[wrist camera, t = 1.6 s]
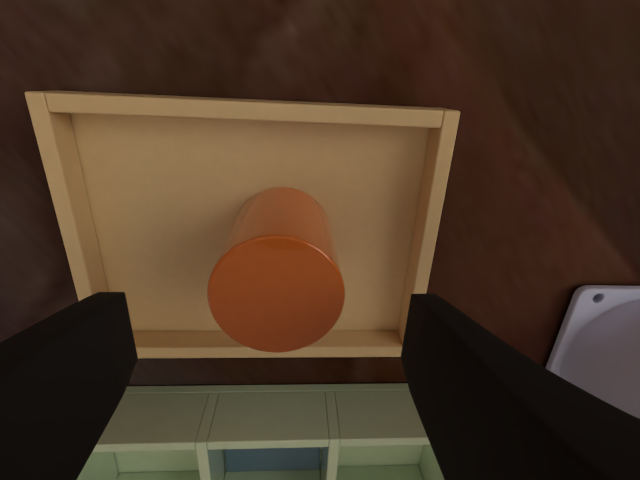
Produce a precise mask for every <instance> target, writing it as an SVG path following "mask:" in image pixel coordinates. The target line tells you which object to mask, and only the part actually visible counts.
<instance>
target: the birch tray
mask: <svg viewBox="0 0 640 480" xmlns="http://www.w3.org/2000/svg"><path fill="white" fill-rule="evenodd" d="M25 97H26V101H27V105H28V108H29V112H30V116H31V120H32V124H33V128H34V131H35V135H36V139H37V143H38V147H39V151H40V154H41V158H42V162H43V166H44V170H45V174H46V177H47V181H48V185H49V189H50V193H51V197H52V200H53V204H54V208H55V212H56V216H57V220H58V223H59V227H60V231H61V235H62V239H63V243H64V246H65V250H66V254H67V258H68V262H69V266H70V270H71V273H72V277H73V281H74V285H75V289H76V293H77V296H78V300H79V301H80V300H82V299H84V298H86V297H88V296H91V295H93V294H95V293H98V292H125V296H126V301H127V306H128V311H129V316H130V321H131V326H132V331H133V336H134V341H135V346H136V351H137V356H138V358H270V357H401V351H402V345H403V339H404V334H405V328H406V322H407V316H408V310H409V304H410V298H411V294H426V292H427V287H428V281H429V276H430V271H431V266H432V260H433V255H434V250H435V244H436V239H437V234H438V228H439V223H440V218H441V213H442V207H443V202H444V197H445V191H446V186H447V181H448V176H449V170H450V165H451V160H452V154H453V149H454V144H455V139H456V133H457V128H458V123H459V117H460V111H457V110H451V109H445V108H433V107H411V106H389V105H367V104H344V103H322V102H300V101H278V100H256V99H234V98H212V97H190V96H168V95H146V94H124V93H101V92H79V91H57V90H56V91H27V92H25ZM276 187H286V188H293V189H297V190H300V191H303V192H304V193H306V194H308V195H310V196H311V197H313V198H314V199H315V200H316V201H317V202H318V203H319V204H320V205H321V206H322V207H323V209H324V210H325V212H326V214H327V216H328V219H329V222H330V226H331V230H332V234H333V239H334V243H335V247H336V251H337V256H338V260H339V264H340V268H341V273H342V277H343V281H344V287H345V301H344V306H343V309H342V312H341V315H340V317H339V319H338V321H337V322H336V324H335V325H334V327H333V328H332V329H331V330H330V331H329V332H328V333H327V334H326V335H325V336H324V337H323V338H321V339H320V340H318V341H317V342H315V343H313V344H311V345H309V346H307V347H304V348H302V349H298V350H295V351H289V352H279V353H275V352H264V351H259V350H255V349H252V348H249V347H246V346H244V345H242V344H240V343H238V342H236V341H235V340H233V339H232V338H231V337H229V336H228V335H227V334H226V333H225V332H224V331H223V330H222V329H221V328H220V327H219V325H218V324H217V322H216V321H215V319H214V317H213V315H212V313H211V311H210V307H209V304H208V298H207V287H208V281H209V278H210V275H211V272H212V270H213V268H214V265H215V263H216V261H217V259H218V257H219V254H220V252H221V250H222V248H223V246H224V243H225V241H226V239H227V237H228V234H229V232H230V230H231V228H232V226H233V223H234V221H235V219H236V217H237V215H238V213H239V210H240V209H241V207H242V206H243V205H244V204H245V202H246V201H247V200H249V199H250V198H251V197H252V196H254V195H255V194H257V193H259V192H261V191H263V190H267V189H270V188H276Z"/></svg>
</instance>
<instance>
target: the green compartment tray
mask: <svg viewBox="0 0 640 480" xmlns="http://www.w3.org/2000/svg"><path fill="white" fill-rule="evenodd" d="M77 480H444V477H443V475H442V472H441V470H440V467H439V465H438V462H437V460H436V457H435V455H434V452H433V450H432V447H431V445H430V442H429V440H428V437H427V435H426V432H425V430H424V427H423V425H422V422H421V419H420V417H419V414H418V412H417V409H416V407H415V404H414V402H413V399H412V396H411V394H410V391H409V387H408V383H381V384H289V385H196V386H127V387H126V390H125V392H124V395H123V397H122V399H121V401H120V402H119V404H118V406H117V408H116V410H115V412H114V414H113V415H112V417H111V419H110V421H109V423H108V424H107V426H106V428H105V430H104V432H103V434H102V435H101V437H100V439H99V441H98V442H97V444H96V446H95V448H94V450H93V451H92V453H91V455H90V457H89V459H88V460H87V462H86V464H85V466H84V468H83V469H82V471H81V473H80V475H79V476H78V478H77Z"/></svg>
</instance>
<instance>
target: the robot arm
mask: <svg viewBox="0 0 640 480" xmlns="http://www.w3.org/2000/svg"><path fill="white" fill-rule="evenodd" d="M595 295H596V296H595ZM594 296H595V297H594ZM137 359H138V356H137V351H136V346H135V341H134V336H133V331H132V326H131V321H130V316H129V311H128V306H127V301H126V296H125V292H98V293H95V294H93V295H91V296H88V297H86V298H84V299H82V300H80V301H78V302H76V303H74V304H72V305H70V306H68V307H66V308H65V309H63V310H61V311H59V312H57V313H55V314H53V315H51V316H50V317H48V318H46V319H44V320H42V321H40V322H38V323H36V324H35V325H33V326H31V327H29V328H27V329H25V330H23V331H21V332H20V333H18V334H16V335H14V336H12V337H10V338H8V339H6V340H4V341H2V342H0V480H77V478H78V476H79V475H80V473H81V471H82V469H83V468H84V466H85V464H86V462H87V460H88V459H89V457H90V455H91V453H92V451H93V450H94V448H95V446H96V444H97V442H98V441H99V439H100V437H101V435H102V434H103V432H104V430H105V428H106V426H107V424H108V423H109V421H110V419H111V417H112V415H113V414H114V412H115V410H116V408H117V406H118V404H119V402H120V401H121V399H122V397H123V395H124V392H125V390H126V387H127V385H128V382H129V380H130V378H131V375H132V372H133V370H134V367H135V364H136V362H137ZM401 359H402V363H403V367H404V372H405V376H406V379H407V383H408V387H409V391H410V394H411V396H412V399H413V402H414V404H415V407H416V409H417V412H418V414H419V417H420V419H421V422H422V425H423V427H424V430H425V432H426V435H427V437H428V440H429V442H430V445H431V447H432V450H433V452H434V455H435V457H436V460H437V462H438V465H439V467H440V470H441V472H442V475H443V477H444V480H640V286H609V285H585V286H581V287H579V288H578V289H577V290H575V292H574V294H573V296H572V299H571V302H570V304H569V307H568V309H567V312H566V315H565V317H564V320H563V323H562V325H561V328H560V331H559V333H558V336H557V339H556V341H555V344H554V346H553V349H552V352H551V354H550V357H549V360H548V362H547V365H546V368H544V367H543V366H541V365H540V364H538V363H536V362H535V361H533V360H532V359H530V358H528V357H527V356H525V355H524V354H522V353H520V352H519V351H517V350H516V349H514V348H513V347H511V346H510V345H508V344H507V343H505V342H504V341H502V340H501V339H499V338H498V337H497V336H495V335H494V334H492V333H491V332H489V331H488V330H486V329H485V328H484V327H482V326H481V325H479V324H478V323H476V322H475V321H474V320H472V319H471V318H469V317H468V316H467V315H465V314H464V313H462V312H461V311H460V310H458V309H457V308H455V307H454V306H452V305H451V304H450V303H448V302H447V301H445V300H444V299H442V298H440V297H439V296H437V295H435V294H411V298H410V304H409V310H408V316H407V322H406V328H405V334H404V339H403V345H402V351H401Z"/></svg>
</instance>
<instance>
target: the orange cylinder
mask: <svg viewBox="0 0 640 480" xmlns="http://www.w3.org/2000/svg"><path fill="white" fill-rule="evenodd" d="M207 298H208V304H209V307H210V311H211V313H212V315H213V317H214V319H215V321H216V322H217V324H218V325H219V327H220V328H221V329H222V330H223V331H224V332H225V333H226V334H227V335H228V336H229V337H231V338H232V339H233V340H235V341H236V342H238V343H240V344H242V345H244V346H246V347H249V348H252V349H255V350H259V351H264V352H275V353H279V352H289V351H295V350H298V349H302V348H304V347H307V346H309V345H311V344H313V343H315V342H317V341H318V340H320V339H321V338H323V337H324V336H325V335H326V334H327V333H328V332H329V331H330V330H331V329H332V328H333V327H334V325H335V324H336V322H337V321H338V319H339V317H340V315H341V312H342V309H343V306H344V301H345V287H344V281H343V277H342V273H341V268H340V264H339V260H338V256H337V251H336V247H335V243H334V239H333V234H332V230H331V226H330V222H329V219H328V216H327V214H326V212H325V210H324V209H323V207H322V206H321V205H320V204H319V203H318V202H317V201H316V200H315V199H314V198H313V197H311V196H310V195H308V194H306V193H304V192H303V191H300V190H297V189H293V188H286V187H276V188H270V189H267V190H263V191H261V192H259V193H257V194H255V195H254V196H252V197H251V198H250V199H249V200H247V201H246V202H245V204H244V205H243V206H242V207H241V209H240V210H239V213H238V215H237V217H236V219H235V221H234V223H233V226H232V228H231V230H230V232H229V234H228V237H227V239H226V241H225V243H224V246H223V248H222V250H221V252H220V254H219V257H218V259H217V261H216V263H215V265H214V268H213V270H212V272H211V275H210V278H209V281H208V287H207Z"/></svg>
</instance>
